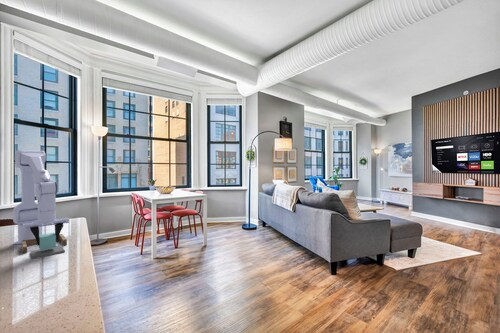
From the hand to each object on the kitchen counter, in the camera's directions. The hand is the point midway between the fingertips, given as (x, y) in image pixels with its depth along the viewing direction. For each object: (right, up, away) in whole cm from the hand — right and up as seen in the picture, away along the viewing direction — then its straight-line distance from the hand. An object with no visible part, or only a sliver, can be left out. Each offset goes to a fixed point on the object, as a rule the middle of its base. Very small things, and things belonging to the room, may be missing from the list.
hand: (47, 243), depth 99 cm
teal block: (0, -2, 0) cm, 2 cm away
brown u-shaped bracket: (-8, -4, +8) cm, 13 cm away
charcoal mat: (0, -4, 0) cm, 4 cm away
